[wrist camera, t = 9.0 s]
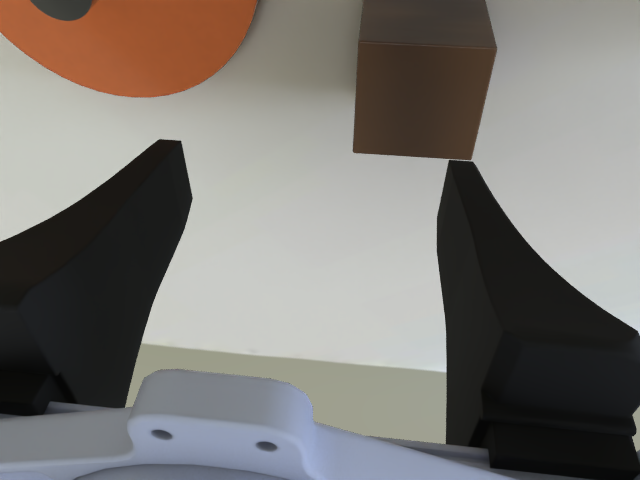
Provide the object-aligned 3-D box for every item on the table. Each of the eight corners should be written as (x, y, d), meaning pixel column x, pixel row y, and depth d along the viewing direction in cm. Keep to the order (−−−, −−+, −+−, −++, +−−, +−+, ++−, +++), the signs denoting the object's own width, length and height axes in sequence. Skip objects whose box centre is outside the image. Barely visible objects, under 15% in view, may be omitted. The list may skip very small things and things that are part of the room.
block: (484, -7, 21) (497, 47, 18) (462, 98, 25) (471, 160, 21) (364, -12, 22) (358, 41, 19) (359, 93, 25) (352, 153, 22)
